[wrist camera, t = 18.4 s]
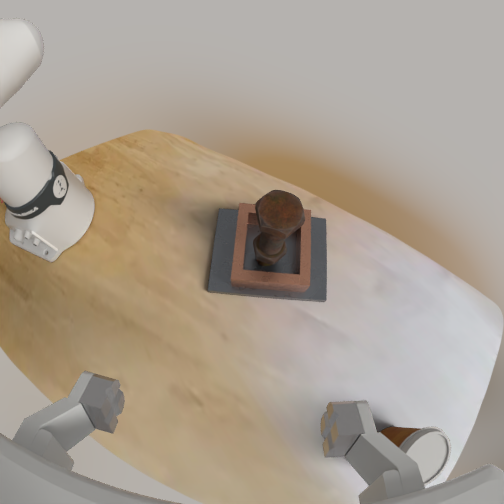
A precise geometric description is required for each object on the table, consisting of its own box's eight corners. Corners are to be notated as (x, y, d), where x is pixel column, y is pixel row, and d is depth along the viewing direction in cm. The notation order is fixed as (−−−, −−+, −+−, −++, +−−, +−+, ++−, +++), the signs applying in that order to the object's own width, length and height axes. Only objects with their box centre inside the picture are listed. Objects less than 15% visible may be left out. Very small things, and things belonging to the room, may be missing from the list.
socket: (208, 292, 45) (204, 283, 40) (219, 211, 50) (217, 195, 45) (324, 301, 45) (333, 294, 40) (324, 221, 50) (332, 207, 45)
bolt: (246, 243, 47) (253, 190, 33) (278, 239, 47) (296, 185, 33) (253, 278, 45) (264, 236, 31) (286, 273, 45) (309, 230, 31)
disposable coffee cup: (390, 406, 39) (432, 414, 28) (420, 435, 36) (462, 447, 25) (351, 450, 36) (383, 472, 25) (384, 477, 34) (419, 500, 23)
